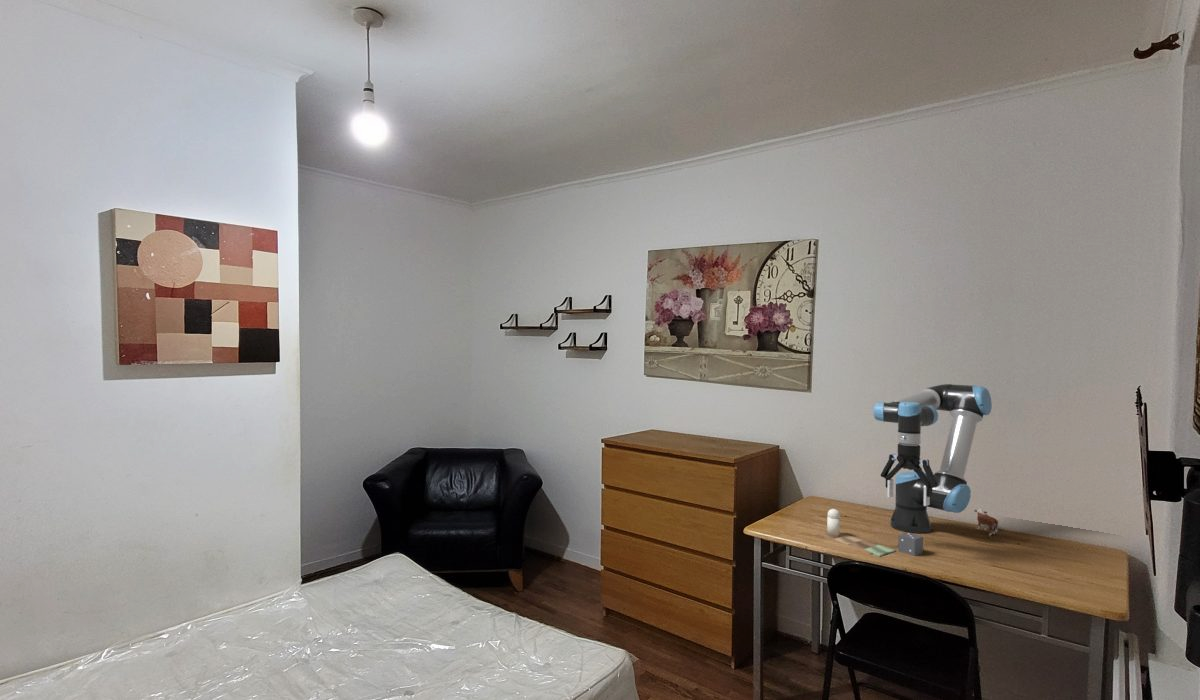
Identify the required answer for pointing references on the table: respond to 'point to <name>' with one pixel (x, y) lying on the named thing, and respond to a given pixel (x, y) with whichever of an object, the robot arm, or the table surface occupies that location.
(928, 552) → the table surface
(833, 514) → the pawn
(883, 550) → the lane
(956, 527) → the table surface
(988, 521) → the bull figurine
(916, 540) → the die
